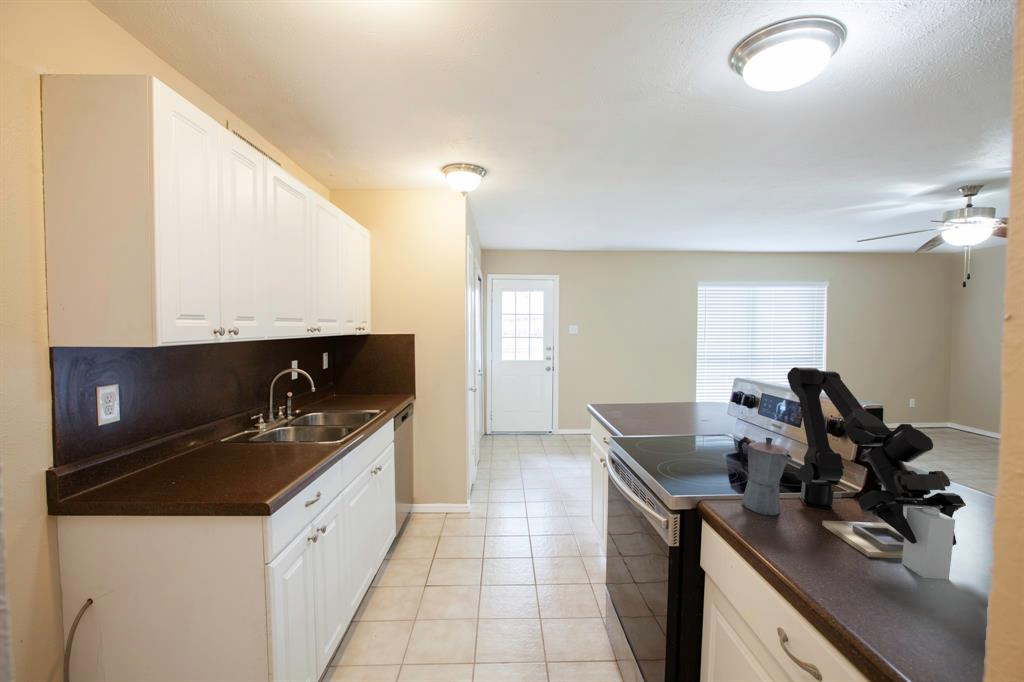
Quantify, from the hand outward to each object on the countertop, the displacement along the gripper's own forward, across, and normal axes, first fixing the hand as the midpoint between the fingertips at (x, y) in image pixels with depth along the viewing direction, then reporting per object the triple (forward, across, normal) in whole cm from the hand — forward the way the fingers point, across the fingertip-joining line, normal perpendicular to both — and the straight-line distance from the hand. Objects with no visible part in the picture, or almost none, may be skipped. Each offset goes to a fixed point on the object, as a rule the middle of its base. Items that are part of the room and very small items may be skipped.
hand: (934, 544), depth 86 cm
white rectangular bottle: (+4, 0, +6) cm, 7 cm away
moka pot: (-15, -19, +25) cm, 35 cm away
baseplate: (-4, 0, +14) cm, 15 cm away
